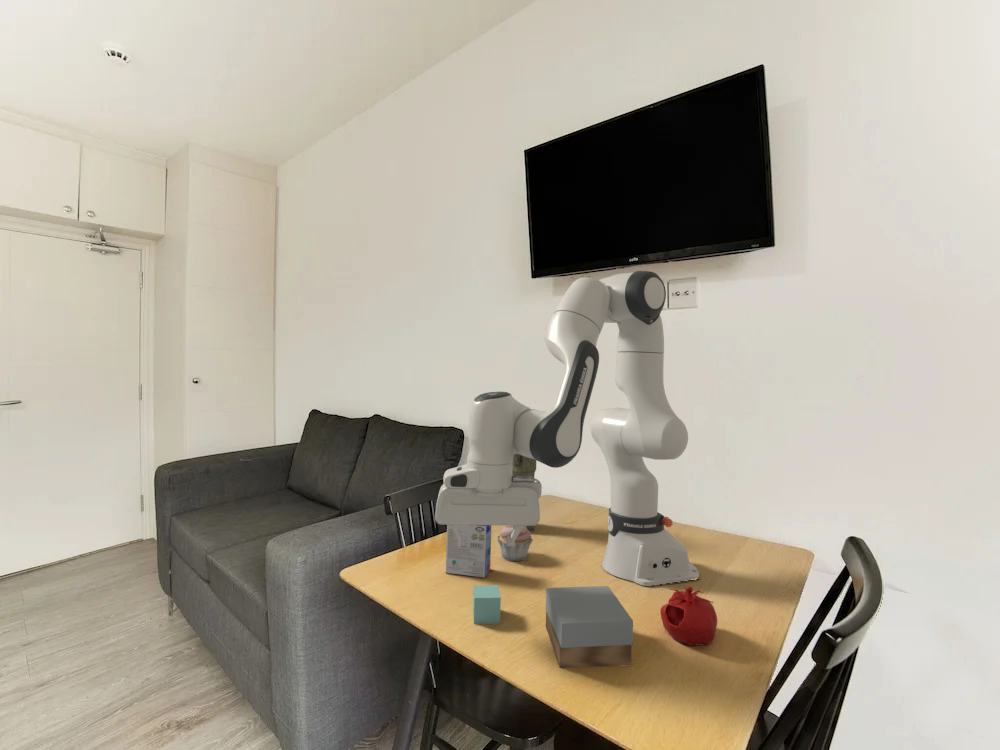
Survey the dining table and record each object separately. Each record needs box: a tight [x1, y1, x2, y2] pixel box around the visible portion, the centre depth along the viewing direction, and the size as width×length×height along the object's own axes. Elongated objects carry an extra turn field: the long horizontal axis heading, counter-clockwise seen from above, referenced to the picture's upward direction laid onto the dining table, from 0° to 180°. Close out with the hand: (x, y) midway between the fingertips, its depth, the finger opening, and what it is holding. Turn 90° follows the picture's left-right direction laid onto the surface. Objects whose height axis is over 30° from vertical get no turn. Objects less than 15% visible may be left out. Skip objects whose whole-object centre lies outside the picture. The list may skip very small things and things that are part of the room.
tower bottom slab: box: [545, 610, 632, 669], centre depth 82 cm, size 12×12×4 cm
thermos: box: [512, 454, 537, 532], centre depth 141 cm, size 9×12×35 cm
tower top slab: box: [545, 585, 634, 648], centre depth 82 cm, size 12×12×4 cm
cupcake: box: [497, 525, 534, 562], centre depth 119 cm, size 9×9×10 cm
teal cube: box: [472, 584, 502, 625], centre depth 91 cm, size 5×5×5 cm
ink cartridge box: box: [445, 525, 492, 578], centre depth 110 cm, size 10×6×14 cm, turn 79°
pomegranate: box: [660, 585, 718, 646], centre depth 86 cm, size 10×10×9 cm
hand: (486, 546), depth 90 cm, fingers open, 8 cm apart
